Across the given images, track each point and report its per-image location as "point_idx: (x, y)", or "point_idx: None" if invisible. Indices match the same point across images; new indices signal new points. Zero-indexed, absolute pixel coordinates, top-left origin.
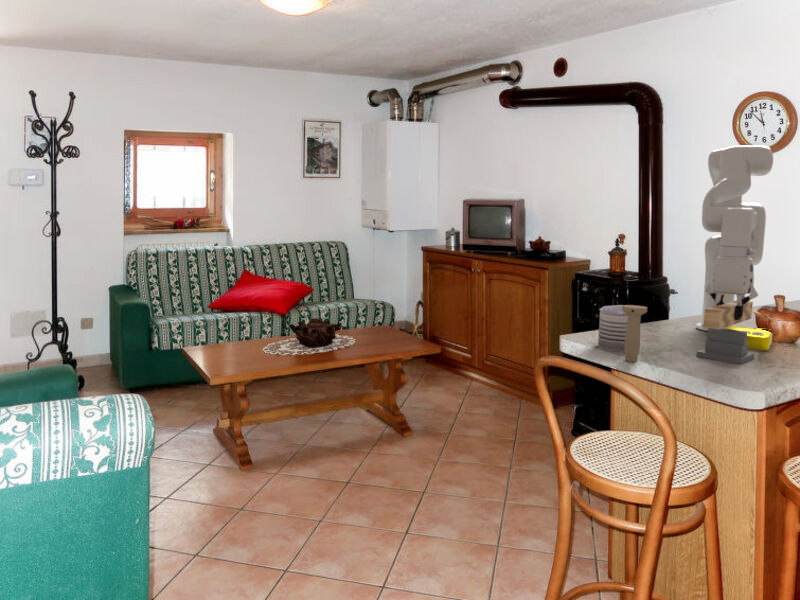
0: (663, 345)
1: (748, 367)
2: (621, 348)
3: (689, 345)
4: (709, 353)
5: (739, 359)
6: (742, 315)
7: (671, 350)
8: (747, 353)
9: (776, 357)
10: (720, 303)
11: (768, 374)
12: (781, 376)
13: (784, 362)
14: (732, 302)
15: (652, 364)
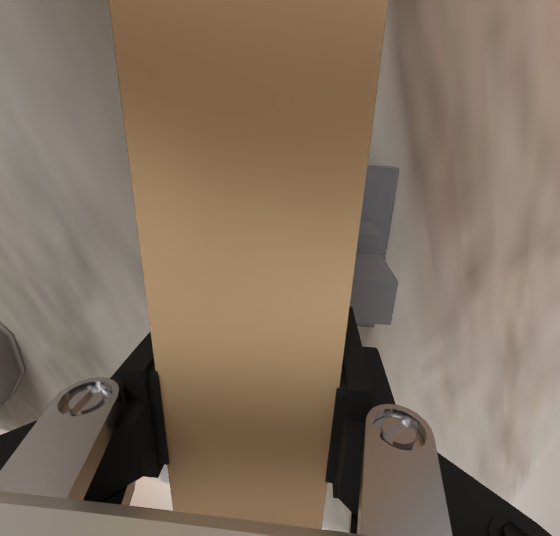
0: (9, 195)
1: (403, 340)
2: (4, 401)
3: (66, 97)
4: None
5: (366, 325)
6: (376, 352)
7: (87, 266)
8: (371, 200)
9: (489, 37)
10: (149, 452)
11: (479, 390)
12: (522, 390)
13: (532, 140)
14: (166, 172)
15: (167, 472)
